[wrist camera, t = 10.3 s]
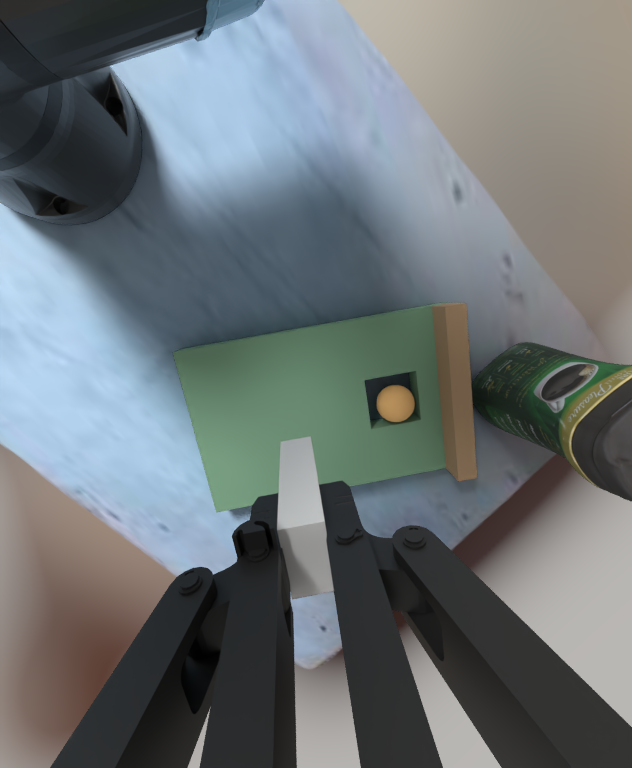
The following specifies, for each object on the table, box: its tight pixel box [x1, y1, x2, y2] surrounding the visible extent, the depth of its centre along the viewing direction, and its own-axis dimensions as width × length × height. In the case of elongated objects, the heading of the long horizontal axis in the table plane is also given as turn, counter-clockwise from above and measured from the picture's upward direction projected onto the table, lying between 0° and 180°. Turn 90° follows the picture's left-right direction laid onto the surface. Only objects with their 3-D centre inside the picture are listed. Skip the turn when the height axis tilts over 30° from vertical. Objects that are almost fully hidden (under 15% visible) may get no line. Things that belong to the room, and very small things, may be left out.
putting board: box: [173, 303, 477, 512], centre depth 36 cm, size 28×18×6 cm, turn 100°
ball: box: [377, 385, 415, 422], centre depth 37 cm, size 4×4×4 cm
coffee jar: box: [471, 342, 632, 501], centre depth 31 cm, size 10×8×19 cm
